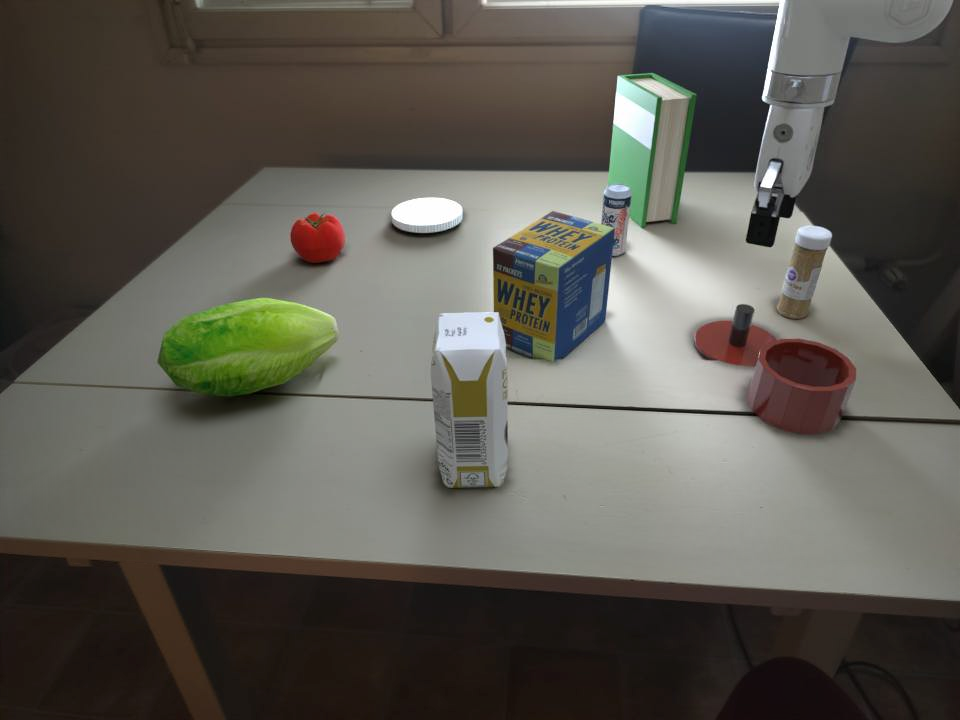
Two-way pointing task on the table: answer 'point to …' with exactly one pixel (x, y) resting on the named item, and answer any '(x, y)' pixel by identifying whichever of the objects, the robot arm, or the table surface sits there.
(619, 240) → the beer can
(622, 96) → the hardback book
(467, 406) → the juice carton
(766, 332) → the lid
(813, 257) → the sprinkles bottle
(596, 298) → the protein box
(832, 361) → the pot
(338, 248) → the tomato
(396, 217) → the plastic lid
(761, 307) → the table surface
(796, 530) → the table surface
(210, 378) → the lettuce
